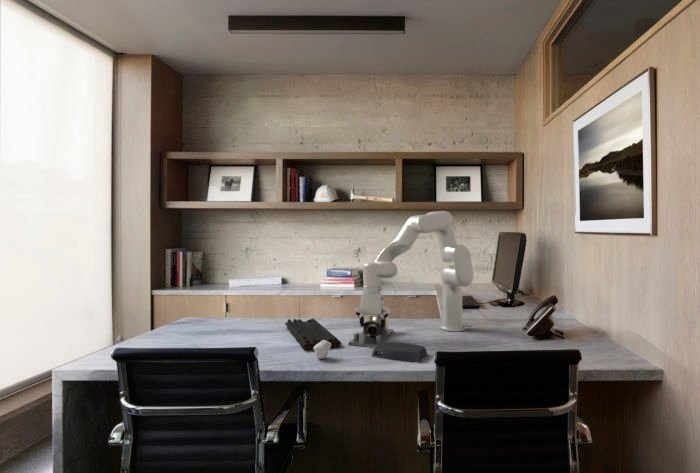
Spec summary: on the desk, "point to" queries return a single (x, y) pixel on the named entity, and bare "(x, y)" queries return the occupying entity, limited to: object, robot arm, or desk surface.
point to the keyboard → (310, 333)
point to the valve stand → (368, 339)
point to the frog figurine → (322, 349)
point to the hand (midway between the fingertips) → (372, 327)
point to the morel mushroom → (371, 328)
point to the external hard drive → (400, 351)
